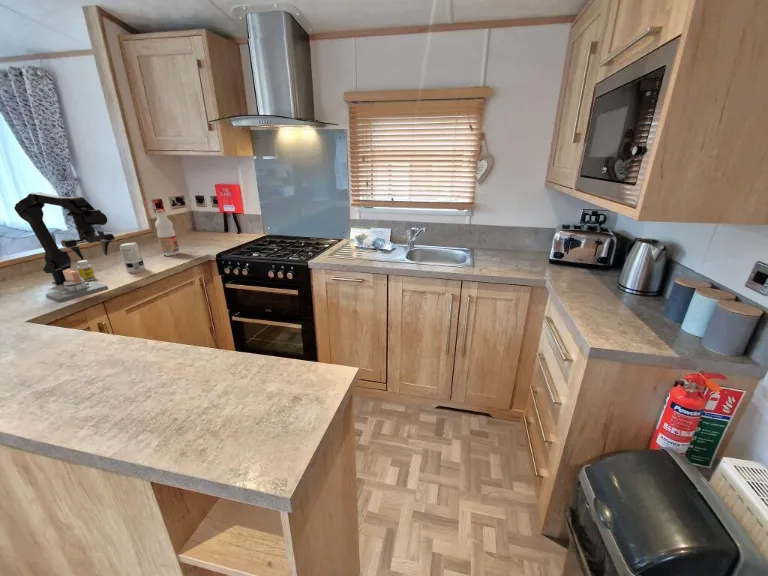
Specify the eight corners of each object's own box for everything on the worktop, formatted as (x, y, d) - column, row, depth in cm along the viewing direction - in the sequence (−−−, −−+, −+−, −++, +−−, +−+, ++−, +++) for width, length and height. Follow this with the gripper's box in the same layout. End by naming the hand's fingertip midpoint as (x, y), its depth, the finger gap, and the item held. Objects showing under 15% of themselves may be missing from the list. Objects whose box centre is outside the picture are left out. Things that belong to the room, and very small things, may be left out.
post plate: (46, 296, 150) (42, 288, 148) (94, 284, 164) (91, 276, 163) (59, 302, 143) (56, 293, 142) (108, 288, 158) (105, 280, 156)
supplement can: (123, 272, 181) (115, 245, 176) (139, 268, 188) (131, 241, 183) (133, 273, 178) (125, 246, 173) (148, 269, 185) (141, 242, 180)
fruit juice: (161, 254, 215) (149, 210, 204) (177, 251, 221) (166, 208, 211) (165, 257, 208) (153, 211, 198) (181, 254, 214) (170, 209, 204)
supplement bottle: (87, 281, 168) (80, 262, 164) (79, 281, 169) (72, 262, 165) (98, 278, 173) (91, 259, 169) (89, 277, 174) (83, 259, 170)
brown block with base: (68, 294, 147) (61, 276, 144) (59, 290, 152) (52, 272, 149) (93, 287, 155) (87, 270, 151) (84, 284, 159) (77, 267, 156)
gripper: (64, 230, 144) (77, 265, 150) (114, 223, 159) (124, 255, 164) (55, 228, 149) (67, 261, 155) (104, 221, 164) (114, 252, 170)
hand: (94, 257), depth 161 cm, fingers open, 9 cm apart
